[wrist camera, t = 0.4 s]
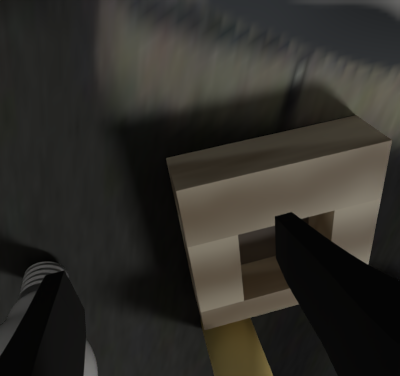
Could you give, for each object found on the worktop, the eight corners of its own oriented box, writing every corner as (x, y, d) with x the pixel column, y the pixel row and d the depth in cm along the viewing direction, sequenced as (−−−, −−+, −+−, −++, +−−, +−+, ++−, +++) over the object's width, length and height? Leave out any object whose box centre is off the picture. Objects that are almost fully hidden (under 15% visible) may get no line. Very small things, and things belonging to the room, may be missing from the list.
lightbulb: (18, 312, 26) (-24, 509, 17) (-26, 246, 22) (-110, 454, 13) (109, 288, 27) (114, 465, 18) (80, 220, 23) (69, 401, 14)
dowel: (247, 324, 33) (284, 420, 26) (203, 336, 32) (229, 437, 26) (245, 294, 30) (284, 391, 24) (197, 307, 30) (224, 410, 23)
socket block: (339, 252, 30) (364, 285, 27) (194, 291, 29) (204, 330, 26) (356, 115, 23) (392, 140, 20) (165, 158, 22) (175, 191, 19)
